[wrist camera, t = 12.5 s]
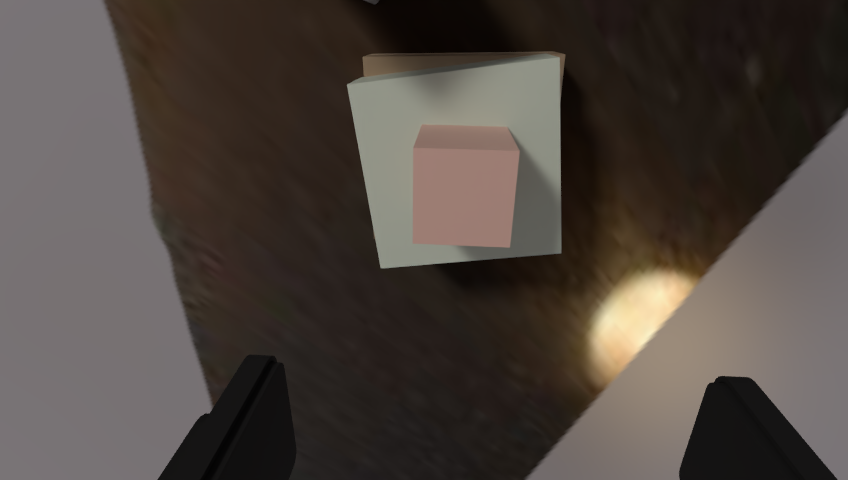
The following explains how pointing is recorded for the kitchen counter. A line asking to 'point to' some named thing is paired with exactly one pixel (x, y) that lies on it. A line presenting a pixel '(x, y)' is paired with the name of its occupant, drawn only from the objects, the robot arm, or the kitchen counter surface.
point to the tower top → (470, 106)
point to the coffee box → (372, 1)
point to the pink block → (464, 185)
